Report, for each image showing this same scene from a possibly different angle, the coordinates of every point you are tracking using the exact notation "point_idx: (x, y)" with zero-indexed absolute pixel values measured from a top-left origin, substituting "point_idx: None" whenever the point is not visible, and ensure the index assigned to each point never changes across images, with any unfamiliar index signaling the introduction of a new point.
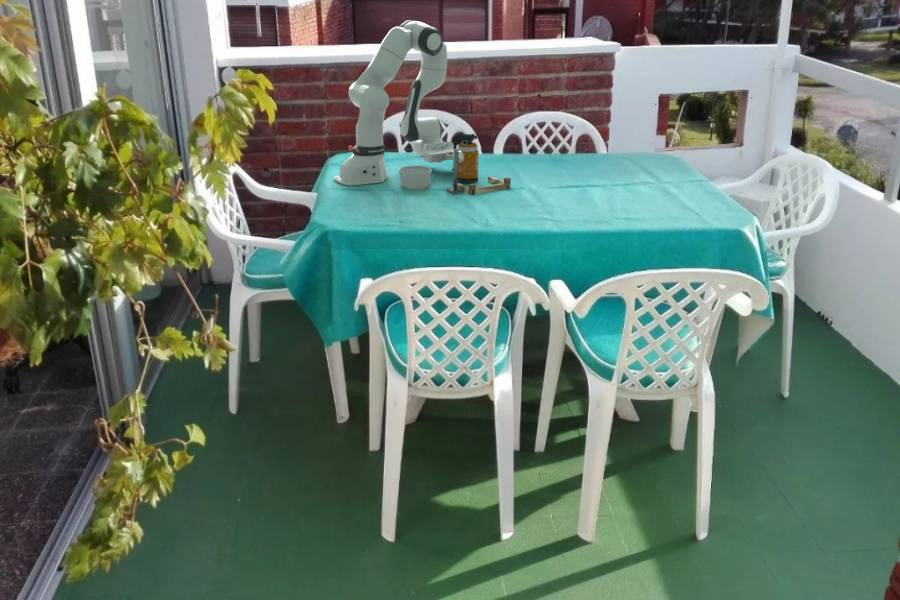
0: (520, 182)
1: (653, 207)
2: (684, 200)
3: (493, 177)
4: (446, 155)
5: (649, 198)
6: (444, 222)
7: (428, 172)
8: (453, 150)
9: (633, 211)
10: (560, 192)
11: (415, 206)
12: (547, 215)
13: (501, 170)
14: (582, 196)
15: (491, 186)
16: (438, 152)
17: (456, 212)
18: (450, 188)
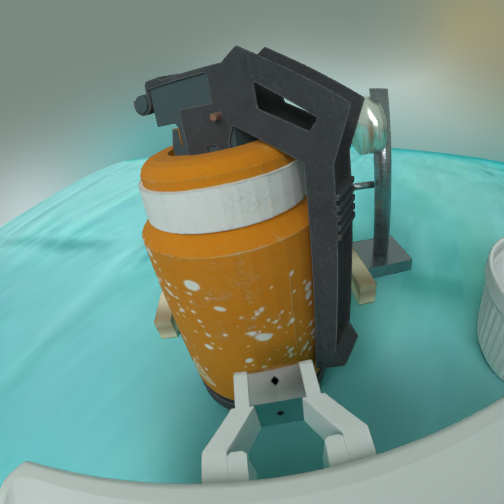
0: (104, 293)
1: (108, 184)
2: (63, 198)
3: (160, 305)
4: (366, 431)
5: (74, 202)
6: (423, 163)
7: (496, 242)
8: (353, 197)
9: (139, 176)
10: (121, 225)
11: (485, 205)
12: None
13: (8, 433)
14: (119, 209)
15: None
16: (473, 453)
17: (400, 178)
18: (396, 257)
